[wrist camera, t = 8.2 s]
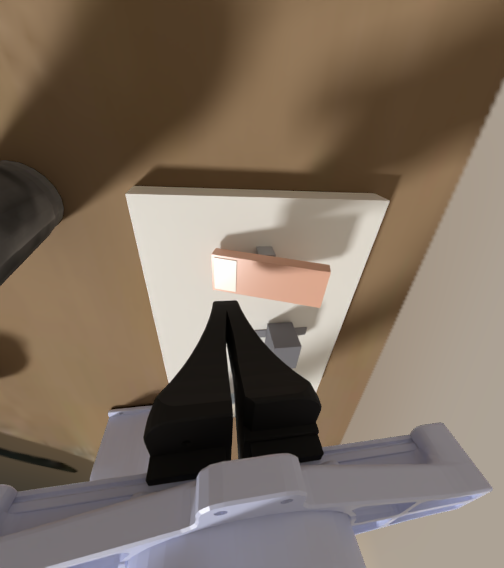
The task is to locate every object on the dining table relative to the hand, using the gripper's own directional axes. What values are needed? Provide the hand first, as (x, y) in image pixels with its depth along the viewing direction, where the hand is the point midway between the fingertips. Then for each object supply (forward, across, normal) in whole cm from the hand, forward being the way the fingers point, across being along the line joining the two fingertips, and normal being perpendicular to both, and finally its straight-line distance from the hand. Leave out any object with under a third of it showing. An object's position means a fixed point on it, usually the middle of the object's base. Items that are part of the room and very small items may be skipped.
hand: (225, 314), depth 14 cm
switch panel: (+8, -3, +8) cm, 12 cm away
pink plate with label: (+3, -3, 0) cm, 5 cm away
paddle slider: (+6, -6, +8) cm, 11 cm away
